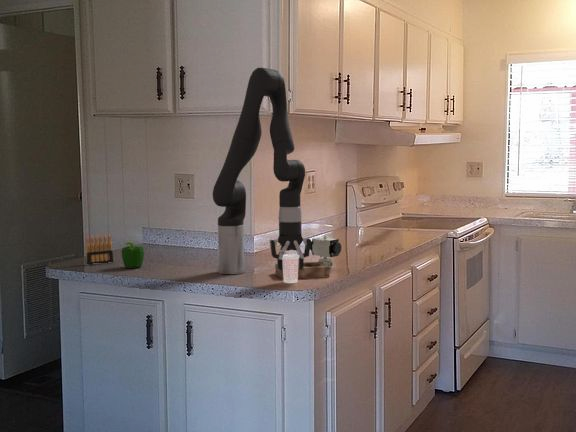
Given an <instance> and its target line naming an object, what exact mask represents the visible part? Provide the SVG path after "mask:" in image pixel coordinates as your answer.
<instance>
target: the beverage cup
mask: <svg viewBox="0 0 576 432" xmlns="http://www.w3.org/2000/svg"><path fill="white" fill-rule="evenodd" d="M282 260H283V277H284V279H283V283H285V284H295V283H298V280H299V278H298V263H299V255H298V253H292V250H289V253H288V254H287V253H286V254H285V253H284V255H283V257H282Z"/></svg>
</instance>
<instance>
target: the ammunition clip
mask: <svg viewBox="0 0 576 432" xmlns="http://www.w3.org/2000/svg"><path fill="white" fill-rule="evenodd" d="M94 235H95V236H93V234H92V233H91V235H90V237H89V234H86V238H85V263H87V264H93V263H107V264H109V263H108V262H113V263H114V254H113V244H112V243H113V242H112V236H111V233H110V232H109V233H108V236H107V234H106V233H104V234H103V235H102V233H99V237H98V234H97V233H96V234H94Z"/></svg>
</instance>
